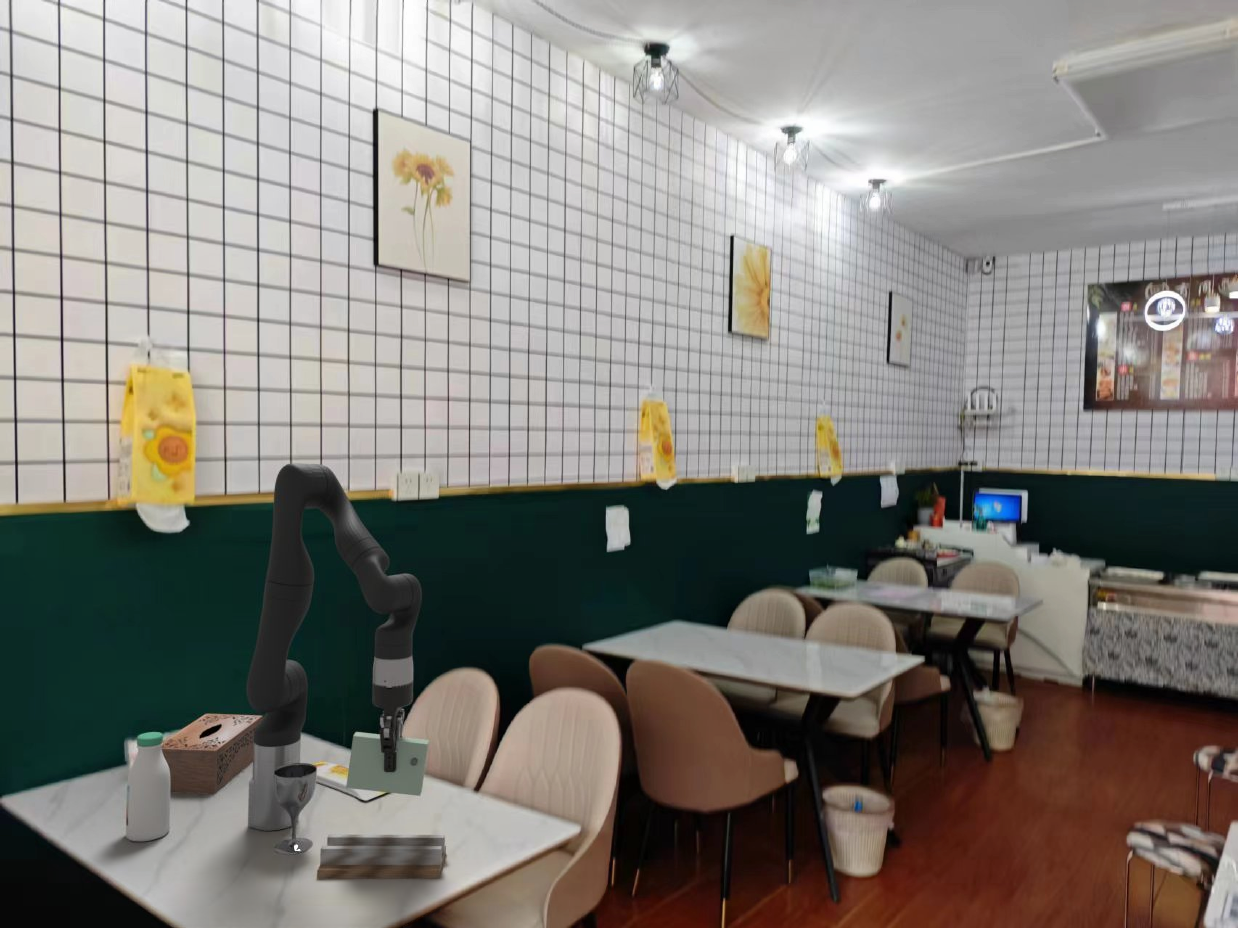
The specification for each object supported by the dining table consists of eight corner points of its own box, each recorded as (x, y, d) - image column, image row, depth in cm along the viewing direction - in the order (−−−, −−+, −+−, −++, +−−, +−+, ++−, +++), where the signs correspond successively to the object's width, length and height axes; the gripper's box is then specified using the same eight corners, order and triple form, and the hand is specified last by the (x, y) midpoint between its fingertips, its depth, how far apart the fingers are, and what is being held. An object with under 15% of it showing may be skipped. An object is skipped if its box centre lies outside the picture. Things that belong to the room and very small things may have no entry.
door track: (316, 878, 162) (317, 853, 161) (331, 852, 172) (331, 829, 171) (438, 878, 163) (439, 854, 163) (445, 853, 173) (446, 830, 173)
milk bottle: (178, 829, 179) (180, 731, 179) (146, 845, 172) (149, 743, 172) (148, 823, 182) (151, 726, 182) (116, 838, 175) (118, 737, 174)
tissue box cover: (215, 794, 198) (216, 750, 198) (150, 792, 198) (151, 748, 198) (262, 754, 224) (263, 715, 224) (205, 752, 224) (205, 713, 224)
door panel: (345, 789, 167) (352, 737, 167) (348, 783, 170) (356, 731, 170) (419, 797, 169) (426, 745, 168) (421, 790, 172) (429, 740, 172)
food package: (400, 782, 204) (366, 795, 195) (400, 792, 204) (365, 806, 196) (323, 756, 219) (288, 767, 210) (322, 765, 219) (288, 777, 211)
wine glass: (289, 859, 169) (291, 780, 168) (263, 847, 173) (265, 771, 172) (323, 843, 175) (325, 768, 175) (297, 833, 180) (299, 760, 179)
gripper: (379, 670, 176) (378, 756, 176) (365, 688, 162) (364, 782, 163) (418, 670, 177) (416, 756, 177) (407, 688, 163) (405, 782, 163)
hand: (391, 768), depth 170 cm, fingers closed on door panel, 2 cm apart
